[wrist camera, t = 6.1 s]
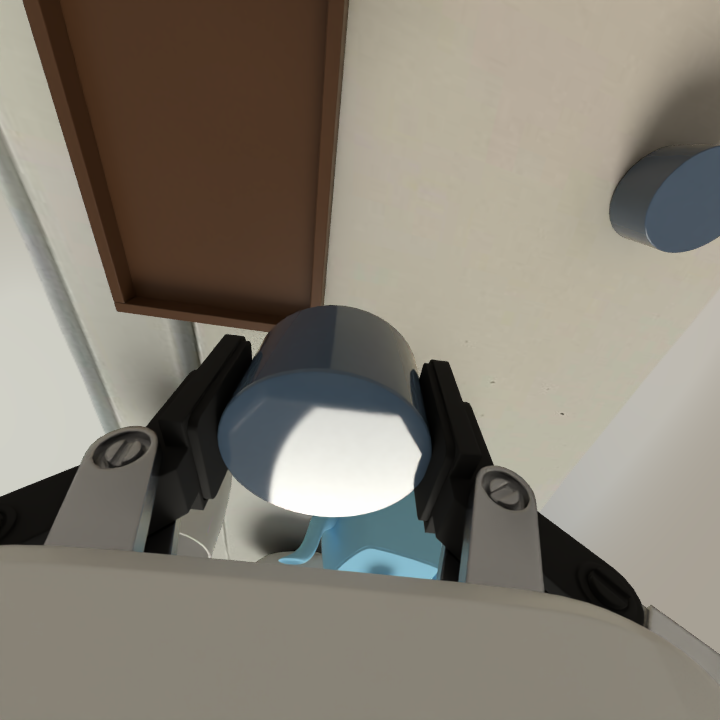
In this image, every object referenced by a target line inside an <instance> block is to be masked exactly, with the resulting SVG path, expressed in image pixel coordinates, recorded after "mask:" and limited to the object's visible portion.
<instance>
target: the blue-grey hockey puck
mask: <svg viewBox="0 0 720 720" xmlns="http://www.w3.org/2000/svg"><path fill="white" fill-rule="evenodd" d="M609 215H610V221H611V224H612V227H613V228H614V230H615V231H616V232H617V233H618V234H619V235H621V236H622V237H624V238H627V239H630V240H632V241H635V242H638V243H641V244H644V245H647V246H649V247H652V248H655V249H658V250H661V251H664V252H670V253H678V252H685V251H690V250H693V249H696V248H699V247H701V246H703V245H705V244H707V243H709V242H711V241H713V240H714V239H716V238H717V237H719V236H720V144H683V145H671V146H666V147H664V148H661V149H658V150H656V151H654V152H652V153H650V154H649V155H647V156H645V157H644V158H643V159H641V160H640V161H639V162H637V163H636V164H635V165H634V166H633V167H632V168H631V169H630V170H629V171H628V172H627V173H626V174H625V176H624V177H623V178H622V180H621V181H620V183H619V184H618V186H617V188H616V190H615V192H614V194H613V197H612V200H611V204H610V211H609Z"/></svg>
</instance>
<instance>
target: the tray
mask: <svg viewBox="0 0 720 720" xmlns="http://www.w3.org/2000/svg"><path fill="white" fill-rule="evenodd" d="M23 4H24V7H25V10H26V14H27V17H28V20H29V23H30V27H31V30H32V33H33V37H34V40H35V43H36V46H37V50H38V53H39V56H40V60H41V63H42V66H43V70H44V73H45V76H46V79H47V83H48V86H49V89H50V93H51V96H52V99H53V102H54V106H55V109H56V112H57V116H58V119H59V122H60V126H61V129H62V132H63V135H64V139H65V142H66V145H67V149H68V152H69V155H70V158H71V162H72V165H73V168H74V172H75V175H76V178H77V181H78V185H79V188H80V191H81V195H82V198H83V201H84V205H85V208H86V211H87V214H88V218H89V221H90V224H91V228H92V231H93V234H94V237H95V241H96V244H97V247H98V251H99V254H100V257H101V260H102V264H103V267H104V270H105V274H106V277H107V280H108V284H109V287H110V290H111V293H112V297H113V300H114V304H115V307H116V310H117V311H118V312H125V313H133V314H140V315H147V316H154V317H162V318H169V319H176V320H183V321H191V322H198V323H205V324H212V325H220V326H227V327H234V328H241V329H249V330H256V331H263V332H270V330H271V329H272V328H273V327H274V326H275V325H277V324H278V323H279V322H280V321H282V320H283V319H285V318H286V317H288V316H290V315H292V314H294V313H296V312H298V311H301V310H304V309H307V308H312V307H317V306H324V296H325V284H326V272H327V260H328V248H329V236H330V224H331V212H332V200H333V188H334V176H335V164H336V152H337V140H338V128H339V116H340V104H341V92H342V80H343V68H344V55H345V43H346V31H347V19H348V7H349V0H23Z"/></svg>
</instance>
